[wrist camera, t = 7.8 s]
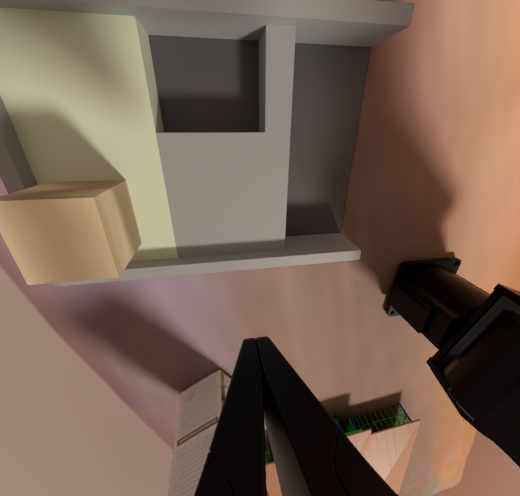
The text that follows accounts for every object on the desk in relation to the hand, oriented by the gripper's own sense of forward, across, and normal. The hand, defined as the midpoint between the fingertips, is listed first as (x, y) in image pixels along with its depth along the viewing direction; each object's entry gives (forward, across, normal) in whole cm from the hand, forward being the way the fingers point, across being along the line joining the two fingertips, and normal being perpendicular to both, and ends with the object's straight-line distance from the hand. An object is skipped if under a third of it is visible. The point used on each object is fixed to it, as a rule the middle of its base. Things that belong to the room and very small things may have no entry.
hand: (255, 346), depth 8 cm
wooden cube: (+9, +8, -2) cm, 12 cm away
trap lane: (+12, +1, -5) cm, 13 cm away
